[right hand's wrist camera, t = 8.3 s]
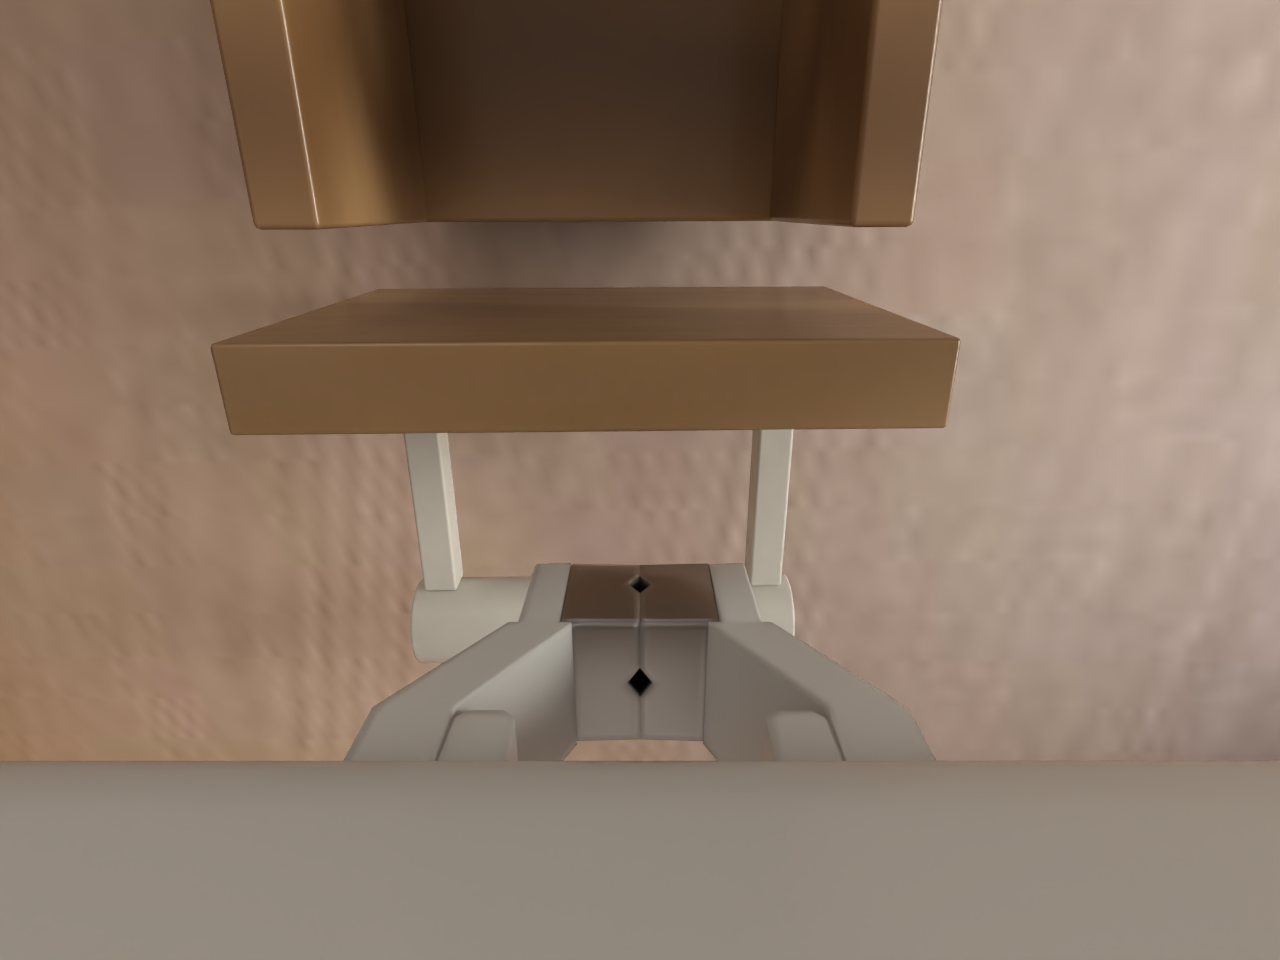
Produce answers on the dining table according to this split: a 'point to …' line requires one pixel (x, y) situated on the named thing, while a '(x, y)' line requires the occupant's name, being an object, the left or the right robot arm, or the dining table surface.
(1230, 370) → the dining table surface
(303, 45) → the drawer
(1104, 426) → the dining table surface
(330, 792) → the right robot arm
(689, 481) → the dining table surface
